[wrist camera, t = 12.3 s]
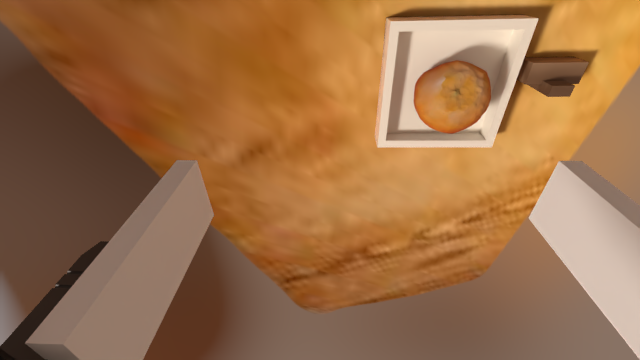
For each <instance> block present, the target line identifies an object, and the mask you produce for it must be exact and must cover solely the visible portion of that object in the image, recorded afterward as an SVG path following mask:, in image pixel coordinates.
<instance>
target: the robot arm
mask: <svg viewBox="0 0 640 360" xmlns="http://www.w3.org/2000/svg"><path fill="white" fill-rule="evenodd" d="M213 216H214V213H213V210H212V207H211V204H210V201H209V198H208V194H207V191H206V188H205V185H204V182H203V179H202V175H201V172H200V169H199V166H198V163H197V160H177V161H176V162H175V163H174V164H173V166H172V167H171V168H170V169H169V170H168V172H167V173H166V174H165V175H164V176H163V178H162V179H161V180H160V181H159V182H158V184H157V185H156V186H155V187H154V188H153V190H152V191H151V192H150V193H149V194H148V196H147V197H146V198H145V199H144V201H143V202H142V203H141V204H140V205H139V207H138V208H137V209H136V210H135V211H134V212H133V214H132V215H131V216H130V217H129V219H128V220H127V221H126V222H125V223H124V225H123V226H122V227H121V228H120V229H119V230H118V232H117V233H116V234H115V235H114V237H113V238H112V239H111V240H110V241H109V242H99V243H98V244H96V245H95V246H94V247H92V248H91V249H90V250H88V251H87V252H85V253H84V254H83V255H81V257H80V258H79V259H78V260H77V261H76V262H75V263H74V264H73V266H72V267H71V268H70V269H69V270H68V273H67V274H65V275H64V276H63V277H62V278H61V279H60V280H59V281H58V282H57V283H56V287H55V288H52V289H51V290H50V291H49V293H48V294H47V295H46V296H45V297H44V298H43V299H42V300H41V301H40V303H39V304H38V305H37V306H36V307H35V308H34V310H33V311H32V312H31V313H30V314H29V315H28V316H27V317H26V318H25V320H24V321H23V322H22V323H21V324H20V325H19V326H18V327H17V328H16V330H15V331H14V332H13V333H12V334H11V335H10V336H9V338H8V339H7V340H6V341H5V342H4V343H3V344H2V345H1V346H0V360H143V358H144V356H145V354H146V352H147V350H148V348H149V346H150V344H151V342H152V339H153V337H154V336H155V334H156V331H157V329H158V327H159V325H160V323H161V321H162V319H163V317H164V315H165V313H166V311H167V309H168V307H169V305H170V303H171V301H172V299H173V297H174V295H175V293H176V291H177V289H178V287H179V285H180V283H181V281H182V279H183V277H184V275H185V273H186V271H187V269H188V266H189V264H190V263H191V261H192V258H193V257H194V254H195V252H196V250H197V248H198V246H199V244H200V242H201V240H202V238H203V236H204V234H205V232H206V230H207V228H208V226H209V224H210V222H211V220H212V218H213ZM529 219H530V221H531V222H532V223H533V224H534V226H535V227H536V228H537V230H538V231H539V232H540V233H541V234H542V236H543V237H544V238H545V240H546V241H547V242H548V244H549V245H550V246H551V247H552V249H553V250H554V251H555V252H556V254H557V255H558V256H559V258H560V259H561V260H562V261H563V263H564V264H565V265H566V266H567V268H568V269H569V270H570V272H571V273H572V274H573V275H574V277H575V278H576V279H577V280H578V282H579V283H580V284H581V285H582V287H583V288H584V289H585V291H587V293H588V294H589V296H590V297H591V298H592V299H593V301H594V302H595V303H596V305H597V306H598V307H599V308H600V310H601V311H602V312H603V313H604V315H605V316H606V317H607V319H608V320H609V321H610V322H611V323H612V325H613V326H614V327H615V329H616V330H617V331H618V332H619V334H620V335H621V336H622V338H623V339H624V340H625V341H626V343H627V344H628V345H629V347H630V348H631V349H632V350H633V351H634V353H635V354H636V355H637V357H638V358H639V359H640V205H638V204H637V203H636V202H634V201H633V200H632V199H630V198H629V197H628V196H627V195H625V194H624V193H623V192H621V191H620V190H619V189H617V188H616V187H615V186H614V185H612V184H611V183H610V182H608V181H607V180H606V179H604V178H603V177H602V176H601V175H599V174H598V173H596V172H595V171H594V170H593V169H591V168H590V167H589V166H587V165H586V164H585V163H584V162H582V161H559V162H558V164H557V166H556V168H555V170H554V172H553V173H552V175H551V177H550V179H549V181H548V183H547V185H546V187H545V188H544V190H543V192H542V194H541V196H540V198H539V200H538V202H537V203H536V205H535V207H534V209H533V211H532V213H531V215H530V216H529Z"/></svg>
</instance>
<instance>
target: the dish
mask: <svg viewBox="0 0 640 360" xmlns="http://www.w3.org/2000/svg"><path fill="white" fill-rule="evenodd" d="M538 19H539V18H535V17H531V16H527V15H486V16H437V17H389V18H386V27H385V37H384V48H383V58H382V68H381V79H380V89H379V99H378V110H377V120H376V130H375V140H376V144H377V147H492V145H493V143H494V140H495V137H496V134H497V132H498V129H499V126H500V123H501V121H502V118H503V115H504V112H505V110H506V107H507V104H508V101H509V99H510V96H511V93H512V90H513V88H514V85H515V82H516V79H517V77H518V74H519V71H520V69H521V66H522V63H523V60H524V58H525V55H526V52H527V49H528V47H529V44H530V41H531V38H532V36H533V33H534V30H535V27H536V25H537V22H538ZM455 60H459V61H465V62H469V63H471V64H474V65H475V66H477V67H479V68H481V69H483V70H485V71H486V72H487V74H488V77H489V79H490V85H491V100H490V103H489V106H488V108H487V110H486V112H485V113H484V114H483V115H482V116H481V118H480V119H479V120H478V121H477V122H476V123H475V124H473V125H472V126H470V127H468V128H466V129H464V130H462V131H459V132H456V133H453V134H448V133H443V132H439V131H436V130H434V129H432V128H430V127H428V126H427V125H426V124H425V123H424V122H423V121H422V120H421V119H420V118H419V116H418V114H417V112H416V109H415V107H414V89H415V84H416V82H417V80H418V78H419V77H420V76H421V75H422V74H423V73H424V72H426V71H428V70H430V69H432V68H435V67H437V66H439V65H441V64H443V63H446V62H451V61H455Z"/></svg>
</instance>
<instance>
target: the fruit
mask: <svg viewBox="0 0 640 360" xmlns="http://www.w3.org/2000/svg"><path fill="white" fill-rule="evenodd" d="M490 100H491V85H490V79H489V77H488V74H487V72H486V71H485V70H483V69H481V68H479V67H477V66H475V65H474V64H471V63H469V62H465V61H459V60H455V61H451V62H446V63H443V64H441V65H439V66H437V67H435V68H432V69H430V70H428V71H426V72H424V73H423V74H422V75H421V76H420V77H419V78H418V80H417V82H416V84H415V89H414V107H415V109H416V112H417V114H418V116H419V118H420V119H421V120H422V121H423V122H424V123H425V124H426V125H427V126H428V127H430V128H432V129H434V130H436V131H439V132H443V133H448V134H453V133H456V132H459V131H462V130H464V129H466V128H468V127H470V126H472V125H473V124H475V123H476V122H477V121H478V120H479V119H480V118H481V116H482V115H483V114H484V113H485V112H486V110H487V108H488V106H489V103H490Z"/></svg>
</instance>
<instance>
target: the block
mask: <svg viewBox="0 0 640 360" xmlns="http://www.w3.org/2000/svg"><path fill="white" fill-rule="evenodd" d="M588 63H589V62H587V61H584V60H582V59H579V58H576V57H527V58H524V60H523V63H522V66H521V69H520V71H519V74H518V77H517V80H519V81H520V82H522V83H524V84H527V85H529V86H531V87H532V88H534V89H536V90H537V91H539V92H541V93H543V94H544V95H546V96H548V97H561V96H570V95H571V93H572V91H573V89H574V87H575V86H574V85H572V84H579V82H580V80H581V78H582V76H583V74H584V72H585V69H586V67H587V65H588Z"/></svg>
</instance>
